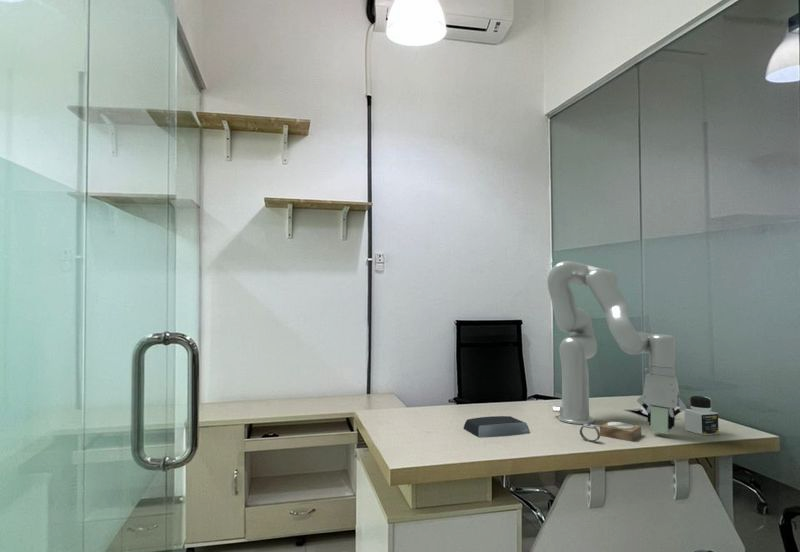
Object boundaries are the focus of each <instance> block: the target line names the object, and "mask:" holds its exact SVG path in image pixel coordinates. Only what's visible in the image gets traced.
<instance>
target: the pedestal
mask: <svg viewBox="0 0 800 552" xmlns="http://www.w3.org/2000/svg"><path fill="white" fill-rule="evenodd" d="M599 432H600V437H601V436H602V437H607V438H611V439H617V440H623V441H628V442H634V441H635V440H636V439H638V438H640V437H641V436H642V426H641V425H636V424H631V423H627V422H622V421H621V422H620V421H612V420H609V421H608V422H606V423H604V424H601V425H600V426H599Z"/></svg>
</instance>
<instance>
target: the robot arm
mask: <svg viewBox="0 0 800 552" xmlns="http://www.w3.org/2000/svg"><path fill="white" fill-rule="evenodd" d="M546 281H547V289H548V293H549V297H550V300H551V305H552V310H553V314H554V318H555V323H556V325H557V328H558V329H559V330H560V331H561V332H564V333H569V336H567V337H565V338H563V340H562V341H561V342H560V345H559V349H558V350H559V358H560V365H561V401H562V403H561V404H562V405H561V406H557V405H556V406H555V405H553V406H552V412H553V413H558V414H559V415H558V416H557V417H558V418H557V419H558V420H559V421H560V422H563V423H566V424H567V423H568V424H574V425H584V424H591V425H592V424H594V422H595V418H594V417H593V416H590V382H589V381H590V379H589V376H590V375H589V374H590V373H589V367H588V361H587V360H590V359H591V358H593V357H594V356H595V355H596V354H597V351H598V344H597V340H596V339H597V338H596V335H595V330H594V327H593V324H592V320H591V318H590V316H589V314H588V312H587V311H586V310H584V309H582V308H581V307H580V308H579V307H577V303H576V301H575V296H574V293H573V291H572V289H571V287H570V285H571V284H572V285H573V284H574V285H578V286H579V285H580V286H583V287H586V288H588V289H589V290H590V292H591V293H592V295H593V297H594V298H595V300H596V301H597V303H598V305H599V306H600V308H601V310H602V311H603V313H604V317H605V320H606V323H607V326H608V329H609V332H610V334H611V335H612V337H613V338H614V341H616V344H617V345H618V347H619V348H620V349H621V351H622V352H624V353H625V354H628V355H631V356H635V355H641V354H649V355H648V365H645V366H644V371H647V372H648V373H646V374H645V377H644V378H645V379H644V385H643V393H642V395H641V396H640V397H639V398H638V399H637V400H636V402H637V403H638V404H640V406H641V407H642V408H643V409H644V410H645V412H646V413H647V422H648V423H649V424H648V425H649V426H651V406H659V407H665V408H669V414H670V415H669V417H668V429H671V430H672V428H673V427H675V420H676V419H675V417H676V416H677V415H678V414H680V413H681V412H683V411H684V410H686V409H688V408H687V406H686V404H685V403H684V402H683V401H682V400H681V397H680V389H679V382H678V377H677V376H675V375H676V373H675V371H676V370H675V368H676V367H675V365H676V363H675V362H676V338H675V337H674V336H673V335H670V334H662V333H661V334H660V333H654V334H653V333H648V332H644V331H637V330H636V329H635V327H634V326H633V324H632V323H631V320H630V318H629V316H628V301H627V299H626V298H625V296H624V295H623V293H622V292H621V291H620V289H619V287H618V285H619V278H618V276H617V274H616V273H615V272H614V271H613V270H611V269H608V268H601V267H596V266H593V265H589V264H586V263H583V262H576V261H571V260H565V261H559V262H558V263H556V264H555V265H554V266H552V268H551V269H550V271H549V273H548V275H547V280H546ZM677 407H678V408H677ZM676 408H677V409H676Z"/></svg>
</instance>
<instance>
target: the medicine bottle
mask: <svg viewBox="0 0 800 552" xmlns="http://www.w3.org/2000/svg"><path fill="white" fill-rule="evenodd" d="M689 400H690V408H687V409H686V410H684V431H686V432H687V431H688V432H691V433H694V434H697V435H699V436H700V435H701V436H710V435H718V434H719V432H720V431H719V429H720V428H719V413H718V412H716V411H712V399H711V398H710V397H707V396H702V395H693V396H690V399H689Z"/></svg>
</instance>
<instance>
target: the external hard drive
mask: <svg viewBox="0 0 800 552" xmlns="http://www.w3.org/2000/svg"><path fill="white" fill-rule="evenodd" d="M463 430H465V431H467V432H468V433H470V434H472V435H474V436H476V437H478V438H494V437H495V438H497V437H507V436H517V435H518V436H519V435H525V434H531V431H530V428H529V425H528V423H527V422H524V421H523V420H521V419H517V418H515V417H513V416H510V415H506V416H503V415H501V416H500V415H498V416H497V415H495V416H480V417H475V418H474V417H473V418H469V419H466V420H465V423H464V425H463Z"/></svg>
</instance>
